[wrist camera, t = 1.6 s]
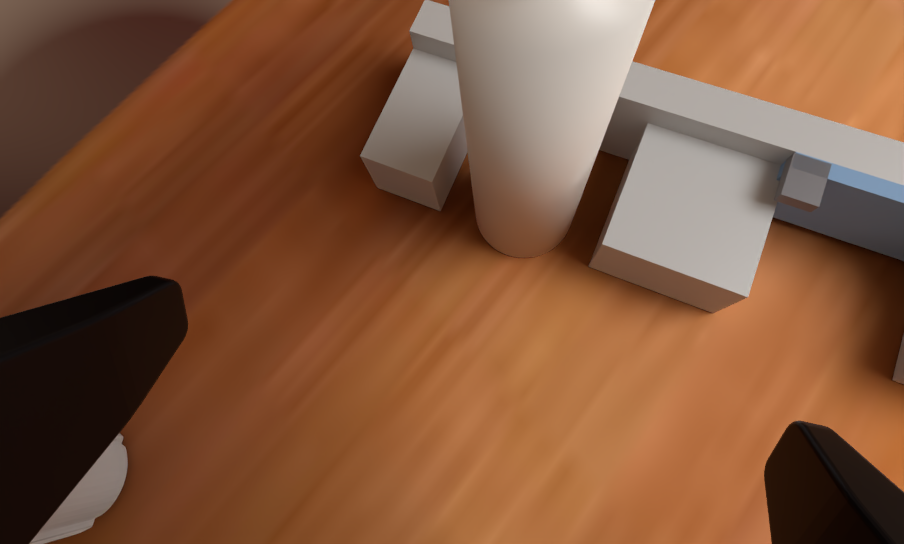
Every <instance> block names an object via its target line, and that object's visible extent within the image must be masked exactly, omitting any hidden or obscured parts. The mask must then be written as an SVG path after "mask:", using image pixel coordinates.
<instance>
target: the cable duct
mask: <svg viewBox="0 0 904 544" xmlns="http://www.w3.org/2000/svg"><path fill="white" fill-rule="evenodd" d="M410 35H411V40H412V44H413V50H412V52H411V54H410V56H409V58H408V60H407V62H406V64H405V66H404V68H403V70H402V72H401V74H400V76H399V78H398V80H397V82H396V84H395V86H394V88H393V90H392V92H391V94H390V96H389V98H388V100H387V102H386V104H385V106H384V108H383V110H382V112H381V114H380V116H379V118H378V120H377V122H376V124H375V126H374V128H373V130H372V132H371V134H370V137H369V139H368V141H367V143H366V145H365V147H364V149H363V151H362V153H361V155H360V157H361V159H362V161H363V163H364V164H365V166H366V168H367V170H368V172H369V173H370V175H371V177H372V179H373V181H374V183H375V184H376V186H377V188H379V189H382V190H385V191H387V192H390V193H393V194H395V195H398V196H401V197H403V198H406V199H409V200H411V201H414V202H417V203H419V204H422V205H425V206H427V207H430V208H433V209H435V210H438V211H441V209H442V207H443V205H444V203H445V201H446V198H447V196H448V194H449V192H450V190H451V187H452V185H453V183H454V181H455V179H456V176H457V174H458V172H459V170H460V167H461V165H462V163H463V161H464V159H465V156H466V154H467V152H468V151H467V143H466V135H465V127H464V119H463V111H462V103H461V95H460V87H459V79H458V71H457V63H456V55H455V47H454V40H453V32H452V24H451V16H450V8H449V6H446V5H442V4H439V3H436V2H432V1H429V0H425V1H424V3H423V5H422V7H421V9H420V11H419V13H418V15H417V17H416V19H415V21H414V23H413V25H412V27H411V29H410ZM599 150H601V151H604V152H607V153H610V154H613V155H616V156H619V157H622V158H625V159H628V160H629V161H628V164H627V167H626V169H625V172H624V174H623V177H622V180H621V182H620V185H619V188H618V190H617V193H616V195H615V198H614V201H613V203H612V206H611V209H610V211H609V214H608V216H607V219H606V222H605V224H604V227H603V230H602V232H601V235H600V237H599V240H598V243H597V245H596V248H595V251H594V253H593V256H592V258H591V261H590V264H589V266H588V267H591V268H593V269H596V270H599V271H601V272H604V273H607V274H609V275H612V276H615V277H617V278H620V279H623V280H625V281H628V282H631V283H633V284H636V285H639V286H641V287H644V288H647V289H649V290H652V291H655V292H657V293H660V294H663V295H665V296H668V297H671V298H674V299H676V300H679V301H682V302H684V303H687V304H690V305H692V306H695V307H698V308H700V309H703V310H706V311H708V312H711V313H715V312H717V311H719V310H721V309H724V308H726V307H728V306H730V305H732V304H734V303H736V302H739V301H741V300H743V299H745V298H747V297H748V295H749V292H750V289H751V285H752V282H753V279H754V276H755V273H756V269H757V266H758V263H759V260H760V257H761V253H762V250H763V247H764V244H765V240H766V237H767V234H768V231H769V228H770V224H771V221H772V218H773V217H774V218H777V219H780V220H783V221H786V222H789V223H792V224H795V225H798V226H801V227H804V228H807V229H810V230H813V231H816V232H818V233H821V234H824V235H827V236H830V237H833V238H836V239H839V240H842V241H845V242H848V243H851V244H854V245H857V246H860V247H863V248H866V249H869V250H872V251H875V252H878V253H881V254H884V255H887V256H890V257H893V258H896V259H899V260H902V261H904V143H903V142H900V141H897V140H893V139H890V138H887V137H883V136H880V135H877V134H873V133H870V132H867V131H863V130H860V129H857V128H853V127H850V126H847V125H843V124H840V123H837V122H833V121H830V120H827V119H823V118H820V117H817V116H813V115H810V114H807V113H803V112H800V111H796V110H793V109H790V108H786V107H783V106H780V105H776V104H773V103H770V102H766V101H763V100H760V99H756V98H753V97H750V96H746V95H743V94H740V93H736V92H733V91H730V90H726V89H723V88H720V87H716V86H713V85H710V84H706V83H703V82H700V81H696V80H693V79H690V78H686V77H683V76H680V75H676V74H673V73H669V72H666V71H663V70H659V69H656V68H653V67H649V66H646V65H643V64H639V63H636V62H633V61H632V63H631V66H630V69H629V71H628V74H627V77H626V79H625V82H624V85H623V87H622V90H621V93H620V95H619V98H618V100H617V103H616V106H615V108H614V111H613V114H612V116H611V119H610V122H609V124H608V127H607V130H606V132H605V135H604V138H603V140H602V143H601V146H600V148H599ZM892 380H893V381H896V382H898V383H901V384H904V334H903V338H902V342H901V346H900V350H899V355H898V359H897V363H896V367H895V371H894V375H893V379H892Z"/></svg>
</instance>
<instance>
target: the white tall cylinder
mask: <svg viewBox="0 0 904 544" xmlns="http://www.w3.org/2000/svg"><path fill="white" fill-rule="evenodd" d="M654 2H655V0H449V8H450V16H451V24H452V32H453V40H454V47H455V55H456V63H457V71H458V79H459V87H460V95H461V103H462V111H463V119H464V127H465V135H466V143H467V151H468V159H469V167H470V175H471V183H472V191H473V199H474V207H475V215H476V221H477V225H478V228H479V231H480V232H481V234H482V236H483V237H484V239H485V240H486V241H487V242H488V243H489V244H490V245H491V246H492V247H493V248H494V249H496V250H497V251H499V252H501V253H503V254H505V255H508V256H512V257H517V258H531V257H536V256H540V255H543V254H545V253H547V252H549V251H551V250H552V249H554V248H555V247H556V246H557V245H558V244H560V242H561V241H562V240H563V239H564V237H565V236H566V234H567V232H568V230H569V228H570V226H571V223H572V220H573V218H574V215H575V212H576V210H577V207H578V204H579V202H580V199H581V196H582V194H583V191H584V188H585V186H586V183H587V180H588V178H589V175H590V172H591V170H592V167H593V164H594V162H595V159H596V156H597V154H598V151H599V148H600V146H601V143H602V140H603V138H604V135H605V132H606V130H607V127H608V124H609V122H610V119H611V116H612V114H613V111H614V108H615V106H616V103H617V100H618V98H619V95H620V93H621V90H622V87H623V85H624V82H625V79H626V77H627V74H628V71H629V69H630V66H631V63H632V61H633V58H634V55H635V53H636V50H637V47H638V45H639V42H640V39H641V37H642V34H643V31H644V29H645V26H646V23H647V21H648V18H649V15H650V13H651V10H652V7H653V5H654Z"/></svg>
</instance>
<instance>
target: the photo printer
mask: <svg viewBox="0 0 904 544" xmlns="http://www.w3.org/2000/svg"><path fill="white" fill-rule="evenodd" d="M122 441H123V436H122V435H121V434H120V433H119V434H118V435H117V437H116V438H115V439H114V440H113V442H112V443H111V444H110V445H109V446H108V448H107V449H106V450H105V451H104V453H103V454H102V455H101V456H100V457H99V459H98V460H97V461H96V462H95V464H94V465H93V466H92V467H91V469H90V470H89V471H88V472H87V473H86V475H85V476H84V477H83V478H82V480H81V481H80V482H79V483H78V485H77V486H76V487H75V488H74V489H73V491H72V492H71V493H70V494H69V496H68V497H67V498H66V499H65V501H64V502H63V503H62V504H61V505H60V507H59V508H58V509H57V510H56V512H55V513H54V514H53V515H52V516H51V518H50V519H49V520H48V521H47V523H46V524H45V525H44V526H43V528H42V529H41V530H40V531H39V532H38V534H37V535H36V536H35V537H34V539H33V540H32V541H31V542H30V544H45V543H48V542H52V541H55V540H59V539H62V538H66V537H69V536H72V535H76V534H78V533H81V532H83V531H85V530H87V529H89V528H91V527H92V526H93V523H94V520H95V518H97V517H99V516H101V515H102V514H104V513H105V512H106V511H107V510H108V509H109V508H110V507H111V506H112V504H113V503H114V502H115V500H116V499H117V497H118V495H119V494H120V492H121V490H122V487H123V485H124V482H125V478H126V474H127V467H128V458H127V451H126V448H125V446H124V445H122Z"/></svg>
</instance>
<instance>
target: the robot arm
mask: <svg viewBox="0 0 904 544" xmlns="http://www.w3.org/2000/svg"><path fill="white" fill-rule="evenodd" d="M187 329H188V319H187V314H186V309H185V304H184V299H183V294H182V289H181V287H180V285H179V284H178V282H176V281H174V280H171V279H167V278H162V277H158V276H146V277H143V278H139V279H136V280H132V281H129V282H125V283H122V284H118V285H115V286H111V287H108V288H104V289H101V290H97V291H94V292H90V293H86V294H83V295H79V296H76V297H72V298H69V299H65V300H62V301H58V302H55V303H51V304H48V305H44V306H41V307H37V308H34V309H30V310H27V311H23V312H19V313H16V314H12V315H9V316H5V317H2V318H0V544H30V542H31V541H32V540H33V539H34V537H35V536H36V535H37V534H38V532H39V531H40V530H41V529H42V528H43V526H44V525H45V524H46V523H47V521H48V520H49V519H50V518H51V516H52V515H53V514H54V513H55V512H56V510H57V509H58V508H59V507H60V505H61V504H62V503H63V502H64V501H65V499H66V498H67V497H68V496H69V494H70V493H71V492H72V491H73V489H74V488H75V487H76V486H77V485H78V483H79V482H80V481H81V480H82V478H83V477H84V476H85V475H86V473H87V472H88V471H89V470H90V469H91V467H92V466H93V465H94V464H95V462H96V461H97V460H98V459H99V457H100V456H101V455H102V454H103V453H104V451H105V450H106V449H107V448H108V446H109V445H110V444H111V443H112V442H113V440H114V439H115V438H116V437H117V435H118V434H119V433H120V432H121V430H122V429H123V428H124V427H125V425H126V424H127V423H128V421H129V420H130V419H131V417H132V416H133V415H134V413H135V412H136V410H137V409H138V407H139V406H140V405H141V403H142V402H143V400H144V399H145V397H146V396H147V394H148V393H149V391H150V390H151V388H152V387H153V385H154V383H155V382H156V380H157V379H158V377H159V376H160V374H161V373H162V371H163V370H164V368H165V367H166V365H167V364H168V362H169V361H170V359H171V358H172V356H173V355H174V353H175V352H176V350H177V349H178V347H179V346H180V344H181V343H182V341H183V340H184V338H185V336H186V333H187ZM764 480H765V489H766V497H767V506H768V515H769V523H770V532H771V541H772V544H904V492H903V491H902V490H901V489H900V488H898V487H897V486H896V485H895V484H894V483H893V482H892V481H890V480H889V479H888V478H887V477H886V476H885V475H884V474H882V473H881V472H880V471H879V470H878V469H877V468H876V467H874V466H873V465H872V464H871V463H870V462H869V461H868V460H866V459H865V458H864V457H863V456H862V455H861V454H860V453H858V452H857V451H856V450H855V449H854V448H853V447H852V446H850V445H849V444H848V443H847V442H846V441H845V440H844V439H842V438H841V437H840V436H839V435H838V434H837V433H836V432H834V431H833V430H832V429H830V428H828V427H825V426H822V425H817V424H813V423H808V422H804V421H795V422H792V423H791V424H790V425H789V426H788V427H787V428H786V430H785V432H784V433H783V435H782V437H781V438H780V440H779V442H778V443H777V445H776V446H775V448H774V450H773V451H772V453H771V455H770V456H769V458H768V460H767V462H766V465H765V471H764Z"/></svg>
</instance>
